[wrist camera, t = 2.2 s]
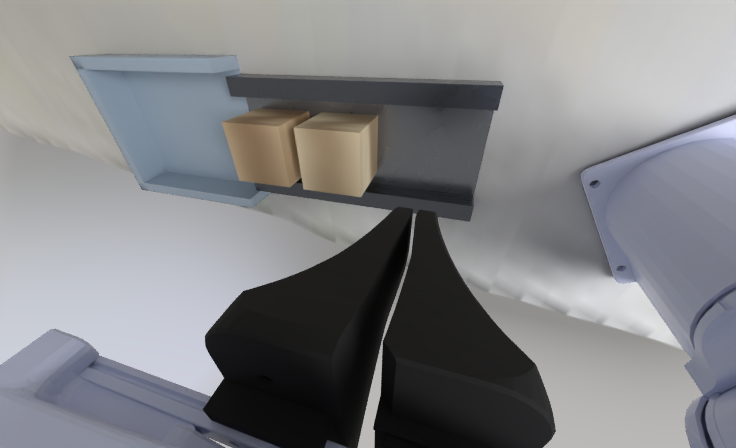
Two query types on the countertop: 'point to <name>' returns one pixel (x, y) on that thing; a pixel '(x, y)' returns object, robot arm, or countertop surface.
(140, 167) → the tray
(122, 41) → the countertop surface
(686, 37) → the countertop surface
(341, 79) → the slot rail
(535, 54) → the countertop surface
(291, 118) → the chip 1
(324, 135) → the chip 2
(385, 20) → the countertop surface
